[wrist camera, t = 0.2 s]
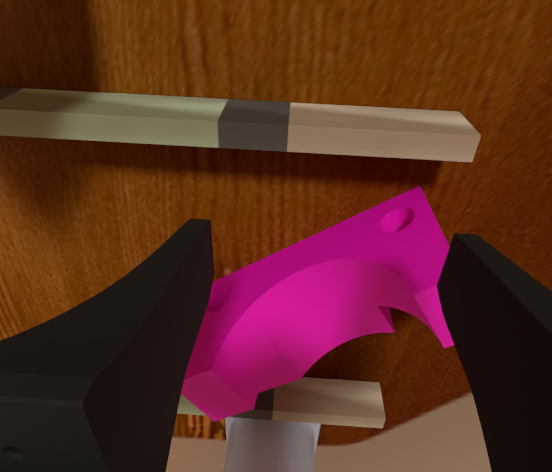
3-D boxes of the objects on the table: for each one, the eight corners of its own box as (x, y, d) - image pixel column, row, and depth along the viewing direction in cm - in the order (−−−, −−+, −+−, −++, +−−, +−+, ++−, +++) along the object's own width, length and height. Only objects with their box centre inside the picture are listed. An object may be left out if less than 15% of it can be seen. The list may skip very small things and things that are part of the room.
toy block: (252, 341, 30) (239, 443, 24) (200, 286, 27) (170, 384, 21) (457, 262, 25) (506, 366, 19) (418, 183, 22) (462, 275, 16)
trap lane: (376, 391, 33) (382, 428, 30) (74, 370, 33) (56, 404, 31) (459, 111, 20) (481, 135, 17) (-37, 85, 20) (-84, 104, 18)
